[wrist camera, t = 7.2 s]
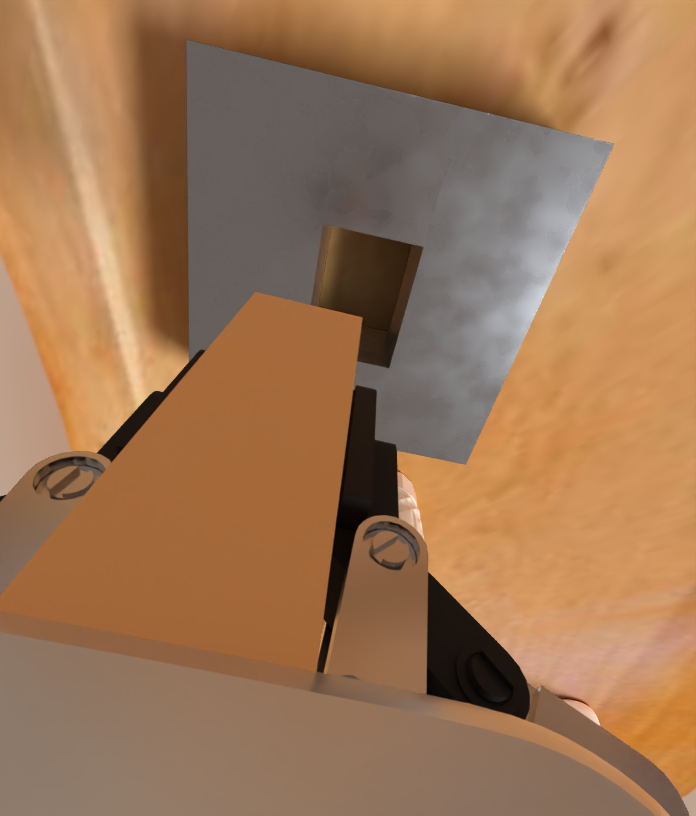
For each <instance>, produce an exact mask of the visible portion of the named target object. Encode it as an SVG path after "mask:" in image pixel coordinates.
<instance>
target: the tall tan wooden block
mask: <svg viewBox="0 0 696 816" xmlns="http://www.w3.org/2000/svg"><path fill="white" fill-rule="evenodd" d="M362 319H363V317H359V316H354V315H350V314H346V313H342V312H338V311H334V310H329V309H325V308H321V307H317V306H313V305H308V304H304V303H300V302H296V301H292V300H288V299H283V298H279V297H275V296H271V295H267V294H262V293H258V292H255V293H254V294H253V295H252V296H251V298H250V299H249V300H248V301H247V302H246V304H245V305H244V306H243V307H242V308H241V310H240V311H239V312H238V313H237V314H236V315H235V317H234V318H233V319H232V320H231V321H230V323H229V324H228V325H227V326H226V327H225V329H224V330H223V331H222V332H221V333H220V334H219V336H218V337H217V338H216V339H215V340H214V342H213V343H212V344H211V345H210V346H209V348H208V349H207V350H206V351H205V352H204V353H203V355H202V356H201V357H200V358H199V359H198V361H197V362H196V363H195V364H194V365H193V367H192V368H191V369H190V370H189V371H188V372H187V374H186V375H185V376H184V377H183V378H182V380H181V381H180V382H179V383H178V384H177V386H176V387H175V388H174V389H173V390H172V391H171V393H170V394H169V395H168V396H167V397H166V399H165V400H164V401H163V402H162V403H161V405H160V406H159V407H158V408H157V409H156V411H155V412H154V413H153V414H152V415H151V416H150V418H149V419H148V420H147V421H146V422H145V424H144V425H143V426H142V427H141V428H140V430H139V431H138V432H137V433H136V434H135V435H134V437H133V438H132V439H131V440H130V441H129V443H128V444H127V445H126V446H125V447H124V449H123V450H122V451H121V452H120V453H119V454H118V456H117V457H116V458H115V459H114V460H113V462H112V463H111V464H110V465H109V466H108V468H107V469H106V470H105V471H104V472H103V473H102V475H101V476H100V477H99V478H98V479H97V481H96V482H95V483H94V484H93V485H92V487H91V488H90V489H89V490H88V491H87V492H86V494H85V495H84V496H83V497H82V498H81V500H80V501H79V502H78V503H77V504H76V506H75V507H74V508H73V509H72V510H71V512H70V513H69V514H68V515H67V516H66V517H65V519H64V520H63V521H62V522H61V523H60V525H59V526H58V527H57V528H56V529H55V531H54V532H53V533H52V534H51V535H50V536H49V538H48V539H47V540H46V541H45V542H44V544H43V545H42V546H41V547H40V548H39V550H38V551H37V552H36V553H35V554H34V555H33V557H32V558H31V559H30V560H29V561H28V563H27V564H26V565H25V566H24V567H23V569H22V570H21V571H20V572H19V573H18V574H17V576H16V577H15V578H14V579H13V580H12V582H11V583H10V584H9V585H8V586H7V588H6V589H5V590H4V591H3V592H2V593H1V595H0V611H2V612H8V613H13V614H18V615H24V616H29V617H35V618H40V619H45V620H51V621H56V622H61V623H67V624H72V625H77V626H83V627H88V628H93V629H98V630H103V631H109V632H114V633H119V634H124V635H130V636H135V637H140V638H145V639H151V640H156V641H161V642H166V643H171V644H177V645H182V646H187V647H192V648H197V649H203V650H208V651H213V652H218V653H223V654H228V655H234V656H239V657H244V658H249V659H254V660H259V661H264V662H269V663H274V664H280V665H285V666H290V667H295V668H300V669H305V670H310V671H315V672H316V671H317V664H318V656H319V648H320V641H321V633H322V625H323V618H324V610H325V602H326V595H327V587H328V579H329V572H330V564H331V556H332V549H333V541H334V533H335V526H336V518H337V510H338V503H339V495H340V487H341V480H342V472H343V464H344V457H345V449H346V441H347V434H348V426H349V418H350V411H351V403H352V395H353V388H354V380H355V372H356V365H357V357H358V349H359V342H360V334H361V326H362Z"/></svg>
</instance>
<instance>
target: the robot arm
mask: <svg viewBox="0 0 696 816" xmlns="http://www.w3.org/2000/svg"><path fill="white" fill-rule="evenodd" d="M205 351H206V350H202V349H201V350H199V351H198V352H197V354H196V355H195V356H194V357H193V358H192V359H191V360H190V362H189V363H188V364H187V365H186V366H185V367H184V369H183V370H182V371H181V372H180V373H179V374H178V375H177V377H176V378H175V379H174V380H173V381H172V382H171V383H170V385H169V386H168V387H167V388H166V389H165V390H164V392H160V391H155V392H153V393H152V394H150V395H149V396H148V398H147V399H146V400H145V401H144V402H143V403H142V404H141V405H140V406H139V407H138V409H137V410H136V411H135V412H134V413H133V414H132V415H131V416H130V417H129V418H128V420H127V421H126V422H125V423H124V424H123V425H122V426H121V427H120V428H119V429H118V431H117V432H116V433H115V434H114V435H113V436H112V437H111V438H110V439H109V440H108V441H107V443H106V444H105V445H104V446H103V447H102V448H101V449H100V450H99V451H98V452H97V453H93V452H89V451H72V452H65V453H60V454H57V455H54V456H51V457H48V458H46V459H44V460H42V461H40V462H39V463H37V464H36V465H34V466H33V467H32V468H31V469H30V470H29V471H28V472H27V473H26V474H25V475H24V476H23V477H22V478H21V479H20V481H19V482H18V483H17V484H16V485H15V486H14V487H13V488H12V490H11V491H10V492H9V493H8V494H7V495H4V496H0V595H1V593H2V592H3V591H4V590H5V589H6V588H7V586H8V585H9V584H10V583H11V582H12V580H13V579H14V578H15V577H16V576H17V574H18V573H19V572H20V571H21V570H22V569H23V567H24V566H25V565H26V564H27V563H28V561H29V560H30V559H31V558H32V557H33V555H34V554H35V553H36V552H37V551H38V550H39V548H40V547H41V546H42V545H43V544H44V542H45V541H46V540H47V539H48V538H49V536H50V535H51V534H52V533H53V532H54V531H55V529H56V528H57V527H58V526H59V525H60V523H61V522H62V521H63V520H64V519H65V517H66V516H67V515H68V514H69V513H70V512H71V510H72V509H73V508H74V507H75V506H76V504H77V503H78V502H79V501H80V500H81V498H82V497H83V496H84V495H85V494H86V492H87V491H88V490H89V489H90V488H91V487H92V485H93V484H94V483H95V482H96V481H97V479H98V478H99V477H100V476H101V475H102V473H103V472H104V471H105V470H106V469H107V468H108V466H109V465H110V464H111V463H112V462H113V460H114V459H115V458H116V457H117V456H118V454H119V453H120V452H121V451H122V450H123V449H124V447H125V446H126V445H127V444H128V443H129V441H130V440H131V439H132V438H133V437H134V435H135V434H136V433H137V432H138V431H139V430H140V428H141V427H142V426H143V425H144V424H145V422H146V421H147V420H148V419H149V418H150V416H151V415H152V414H153V413H154V412H155V411H156V409H157V408H158V407H159V406H160V405H161V403H162V402H163V401H164V400H165V399H166V397H167V396H168V395H169V394H170V393H171V391H172V390H173V389H174V388H175V387H176V386H177V384H178V383H179V382H180V381H181V380H182V378H183V377H184V376H185V375H186V374H187V372H188V371H189V370H190V369H191V368H192V367H193V365H194V364H195V363H196V362H197V361H198V359H199V358H200V357H201V356H202V355H203V353H204V352H205ZM376 399H377V390H376V389H372V388H367V387H363V386H359V385H356V387H355V390H353V395H352V403H351V411H350V418H349V426H348V434H347V441H346V449H345V457H344V464H343V472H342V480H341V487H340V495H339V503H338V510H337V518H336V526H335V533H334V541H333V549H332V556H331V564H330V572H329V579H328V587H327V595H326V602H325V610H324V618H323V619H324V620H325V624H324V628H323V632H322V637H321V641H320V648H319V656H318V664H317V671H316V672H315V671H310V670H305V669H300V668H295V667H290V666H285V665H280V664H274V663H269V662H264V661H259V660H254V659H249V658H244V657H239V656H234V655H228V654H223V653H218V652H213V651H208V650H203V649H197V648H192V647H187V646H182V645H177V644H171V643H166V642H161V641H156V640H151V639H145V638H140V637H135V636H130V635H124V634H119V633H114V632H109V631H103V630H98V629H93V628H88V627H83V626H77V625H72V624H67V623H61V622H56V621H51V620H45V619H40V618H35V617H29V616H24V615H18V614H13V613H8V612H2V611H0V816H689V813H688V810H687V808H686V806H685V804H684V802H683V800H682V798H681V796H680V794H679V792H678V791H677V789H676V788H675V787H674V785H673V784H672V783H671V781H670V780H669V779H668V778H667V776H666V775H665V774H664V773H663V772H662V771H661V770H660V769H659V768H658V767H657V766H655V765H654V764H653V763H652V762H651V761H650V760H649V759H647V758H646V757H644V756H643V755H641V754H640V753H639V752H637V751H636V750H634V749H633V748H631V747H630V746H628V745H627V744H625V743H624V742H623V741H621V740H620V739H618V738H617V737H615V736H614V735H612V734H611V733H610V732H608V731H607V730H605V729H604V728H602V727H601V726H599V725H598V724H596V723H595V722H594V721H592V720H591V719H589V718H588V717H586V716H585V715H583V714H582V713H580V712H579V711H578V710H576V709H575V708H573V707H572V706H570V705H569V704H567V703H566V702H564V701H563V700H562V699H560V698H559V697H557V696H556V695H554V694H553V693H551V692H550V691H549V690H547V689H546V688H544V687H543V686H540V687H539V688H538V689H537V690H536V689H535V688H533V687H532V686H531V685H529V684H528V683H527V681H526V679H525V677H524V675H523V673H522V671H521V669H520V667H519V666H518V664H517V663H516V662H515V661H514V659H513V658H512V657H511V656H510V654H509V653H508V652H507V651H506V650H505V649H504V648H503V647H502V646H501V645H500V644H499V643H498V642H497V641H496V640H495V639H494V638H493V637H492V636H491V635H490V634H489V633H488V632H487V631H486V630H485V629H484V628H483V627H482V626H481V625H480V624H479V623H478V622H477V621H476V620H475V619H474V618H473V617H472V616H471V615H470V614H469V613H468V612H467V611H466V610H465V609H464V608H463V607H462V606H461V605H460V604H459V603H458V602H457V601H456V599H455V598H454V597H453V596H452V595H451V594H450V593H449V592H448V591H447V590H446V589H445V588H444V587H443V586H442V585H441V584H440V583H439V582H438V581H437V580H436V579H435V578H434V577H433V576H432V575H431V574H430V573H429V572H428V551H427V545H426V543H425V541H424V539H423V537H422V536H421V535H420V533H419V532H418V531H417V530H416V529H415V528H414V527H413V526H411V525H410V524H408V523H407V522H406V521H403V520H401V519H399V506H398V474H397V448H396V445H395V444H392V443H388V442H383V441H379V440H375V424H376Z"/></svg>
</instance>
